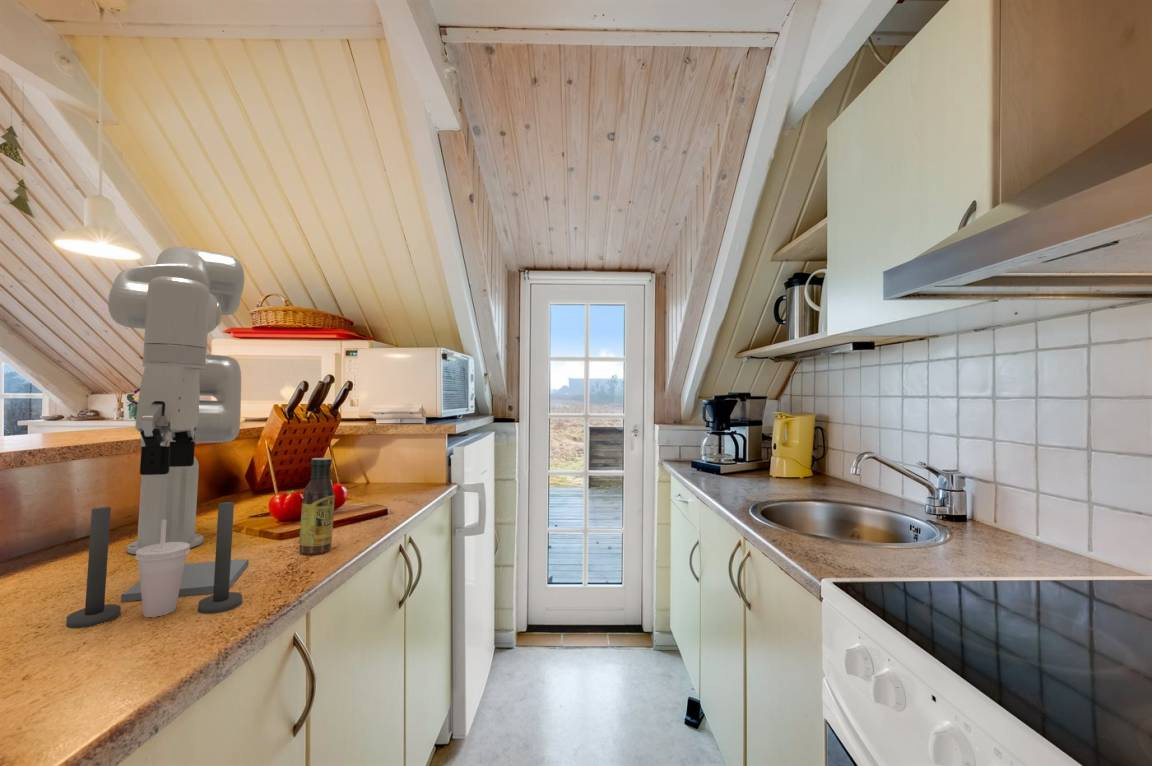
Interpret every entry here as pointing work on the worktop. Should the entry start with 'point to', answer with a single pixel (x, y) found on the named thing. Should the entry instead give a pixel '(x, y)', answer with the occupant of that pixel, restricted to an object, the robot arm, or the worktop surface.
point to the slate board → (194, 579)
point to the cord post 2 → (222, 566)
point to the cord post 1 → (96, 576)
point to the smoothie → (161, 574)
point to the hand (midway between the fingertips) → (168, 470)
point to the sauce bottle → (317, 509)
